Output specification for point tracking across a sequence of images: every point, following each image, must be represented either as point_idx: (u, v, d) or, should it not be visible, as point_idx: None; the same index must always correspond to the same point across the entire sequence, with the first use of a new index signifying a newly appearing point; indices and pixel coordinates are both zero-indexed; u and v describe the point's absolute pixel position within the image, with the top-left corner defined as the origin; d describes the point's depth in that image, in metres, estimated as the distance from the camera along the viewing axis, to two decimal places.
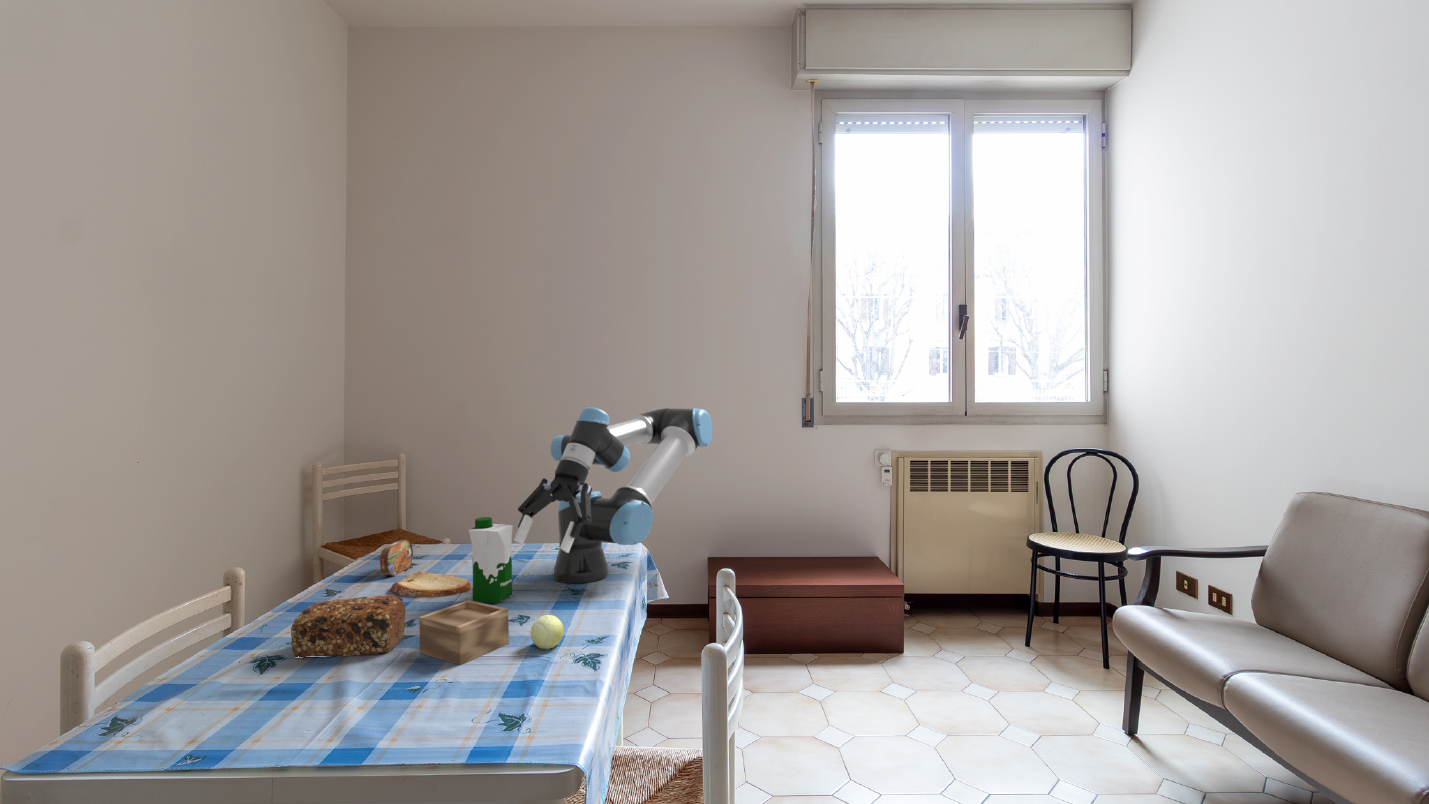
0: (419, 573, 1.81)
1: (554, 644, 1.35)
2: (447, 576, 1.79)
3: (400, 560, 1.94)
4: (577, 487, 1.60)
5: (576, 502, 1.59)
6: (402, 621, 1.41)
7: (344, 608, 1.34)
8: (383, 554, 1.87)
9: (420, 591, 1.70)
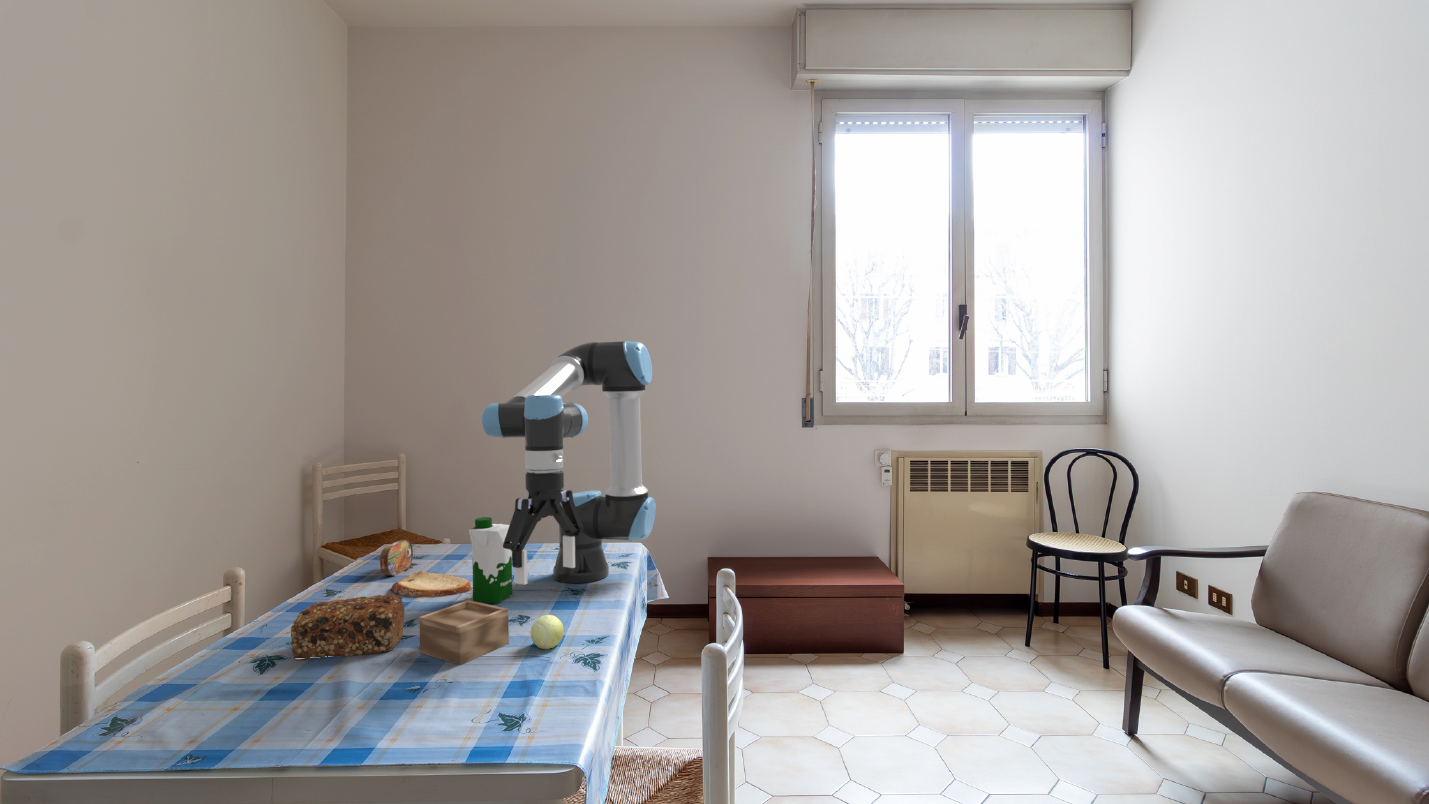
0: (420, 573, 1.81)
1: (554, 644, 1.35)
2: (447, 576, 1.79)
3: (400, 560, 1.94)
4: None
5: None
6: (402, 620, 1.42)
7: (345, 608, 1.34)
8: (383, 554, 1.87)
9: (420, 591, 1.70)
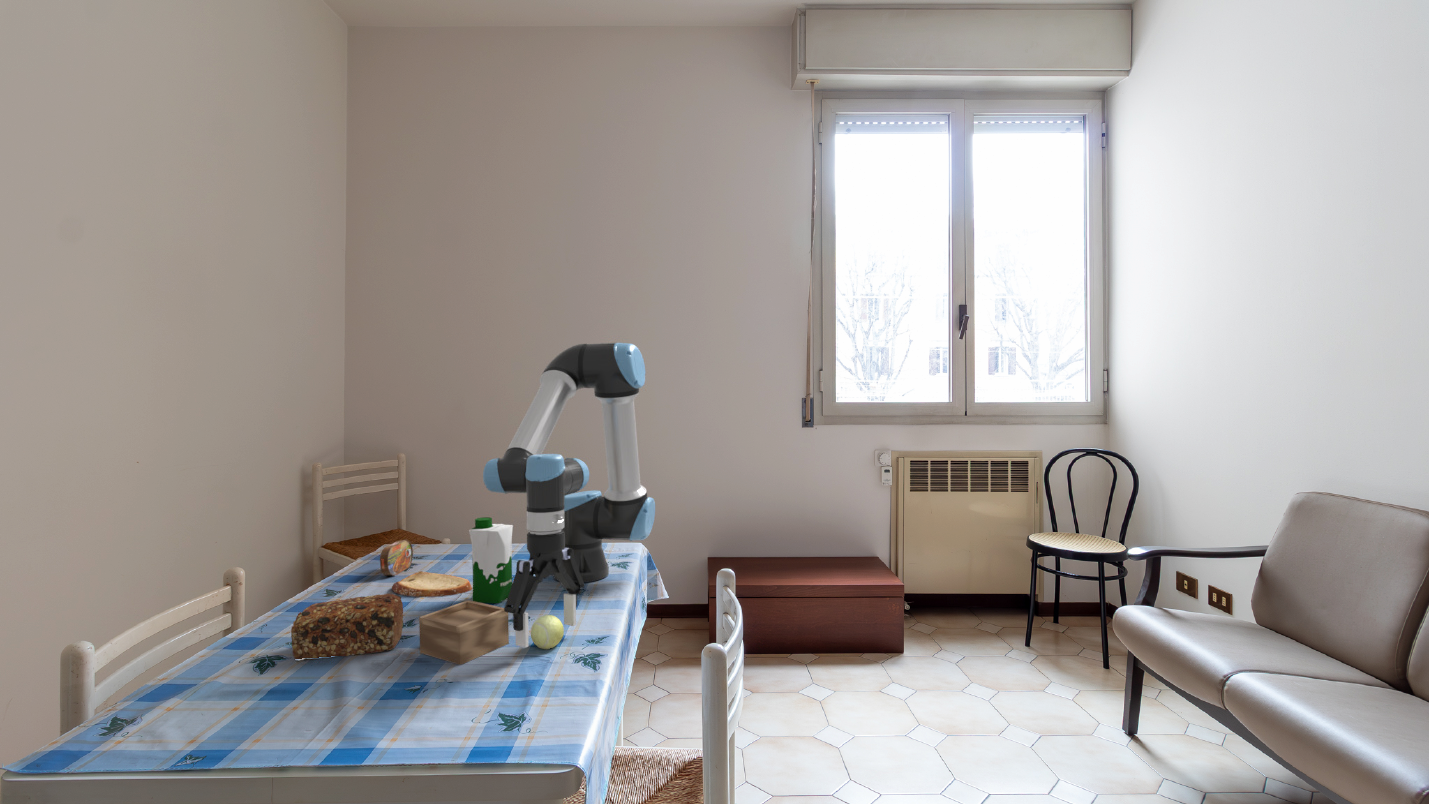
0: (420, 573, 1.82)
1: (554, 644, 1.35)
2: (448, 576, 1.79)
3: (400, 560, 1.94)
4: None
5: None
6: (401, 619, 1.43)
7: (346, 608, 1.34)
8: (383, 554, 1.87)
9: (420, 591, 1.70)
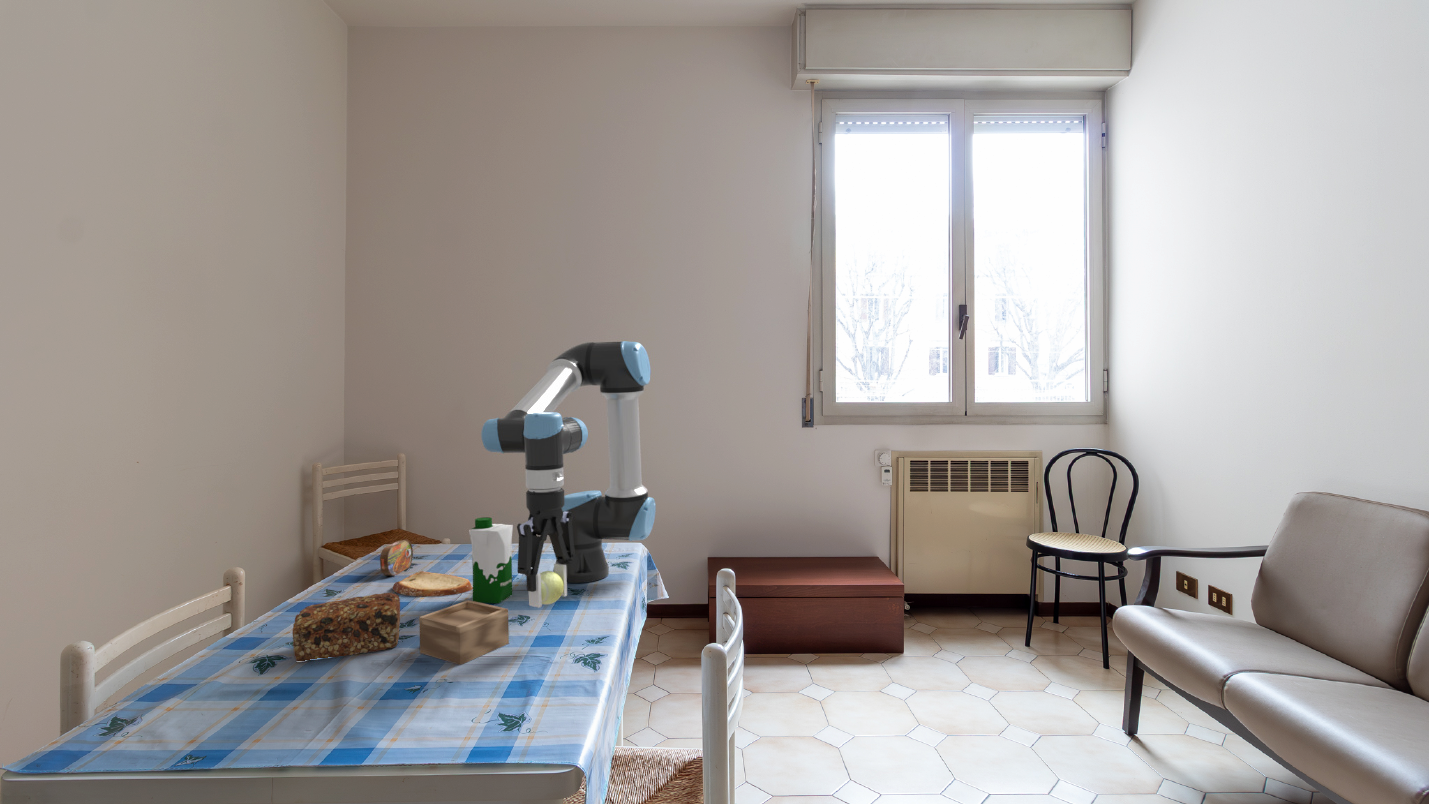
0: (421, 572, 1.82)
1: (554, 599, 1.36)
2: (448, 576, 1.80)
3: (400, 560, 1.94)
4: None
5: None
6: (399, 617, 1.44)
7: (348, 608, 1.34)
8: (383, 554, 1.87)
9: (421, 590, 1.70)
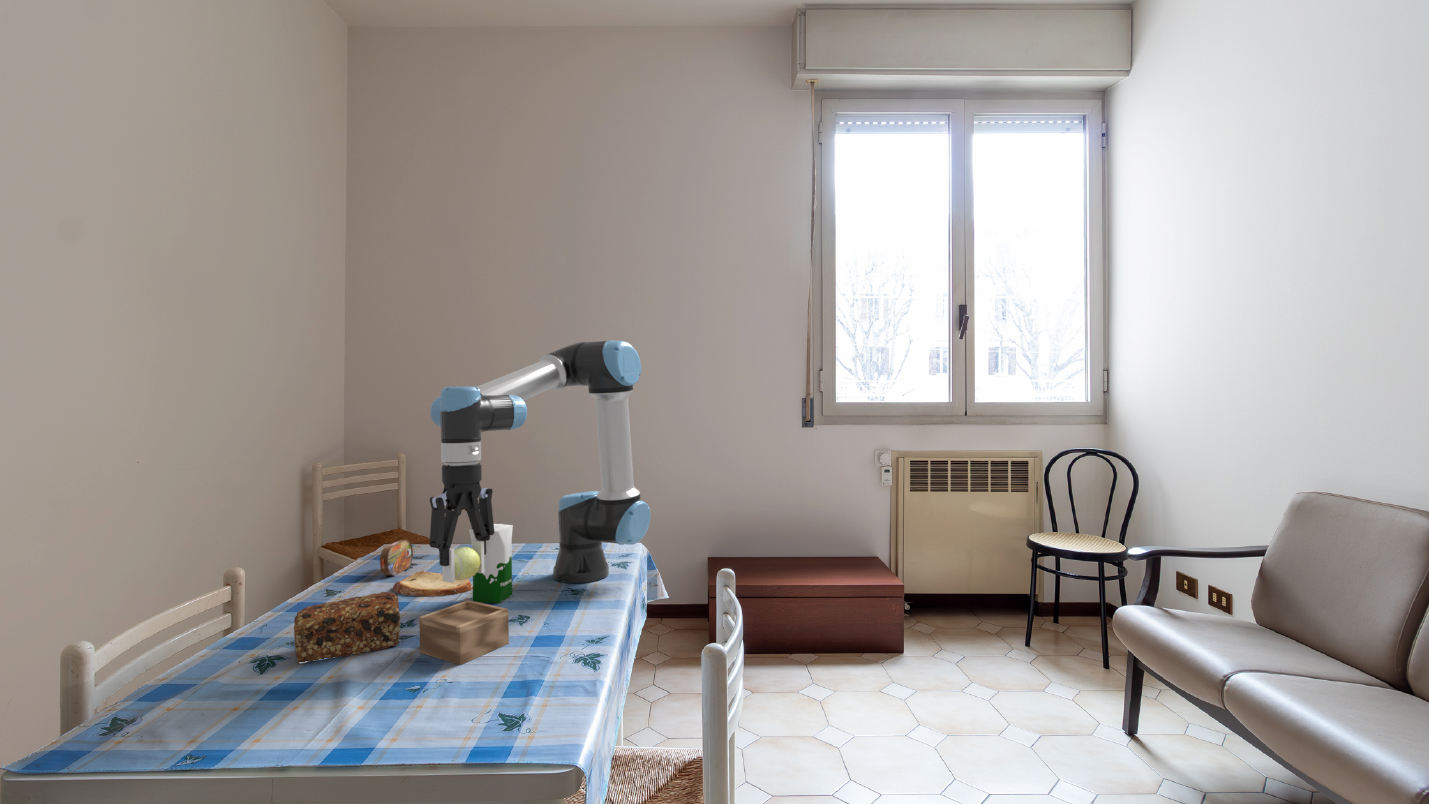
0: (421, 572, 1.82)
1: (468, 575, 1.34)
2: None
3: (400, 560, 1.94)
4: (480, 491, 1.38)
5: None
6: None
7: (350, 607, 1.34)
8: (383, 554, 1.87)
9: (421, 590, 1.71)
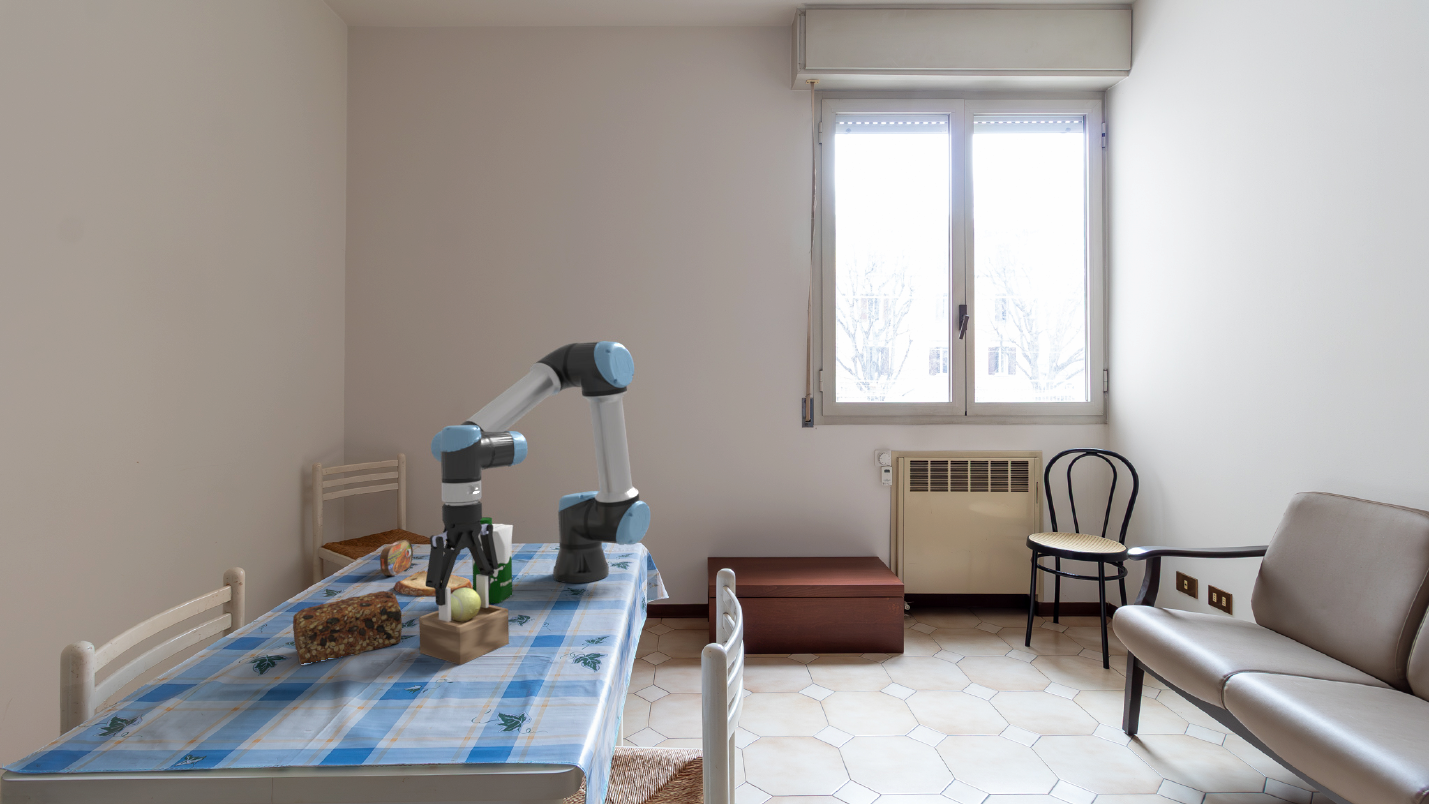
0: (423, 572, 1.82)
1: (469, 616, 1.34)
2: None
3: (400, 560, 1.94)
4: (481, 529, 1.39)
5: None
6: None
7: (352, 607, 1.35)
8: (383, 554, 1.87)
9: (421, 590, 1.71)
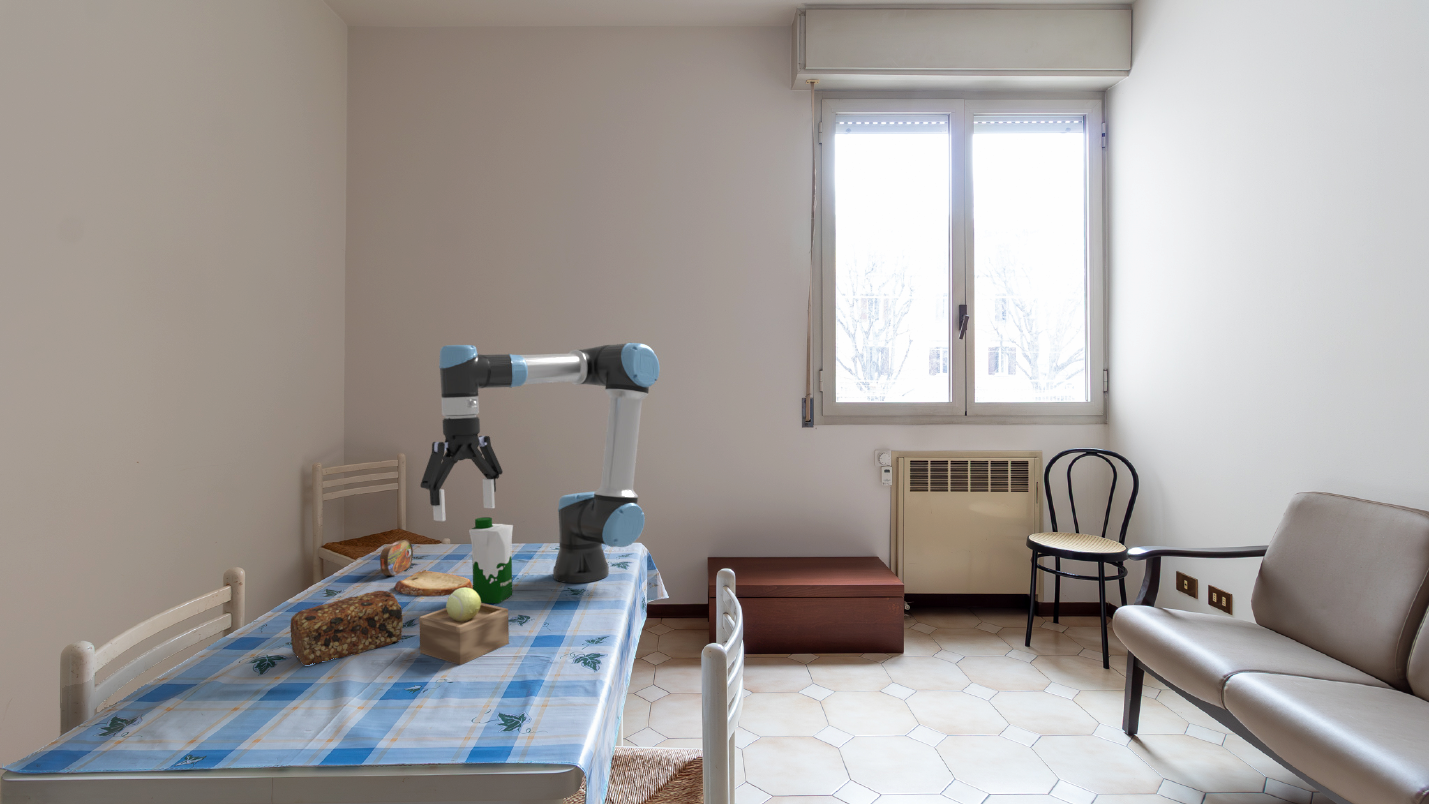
0: (423, 571, 1.83)
1: (469, 616, 1.34)
2: (450, 575, 1.80)
3: (400, 560, 1.94)
4: None
5: None
6: None
7: (353, 606, 1.35)
8: (383, 554, 1.87)
9: (421, 590, 1.71)
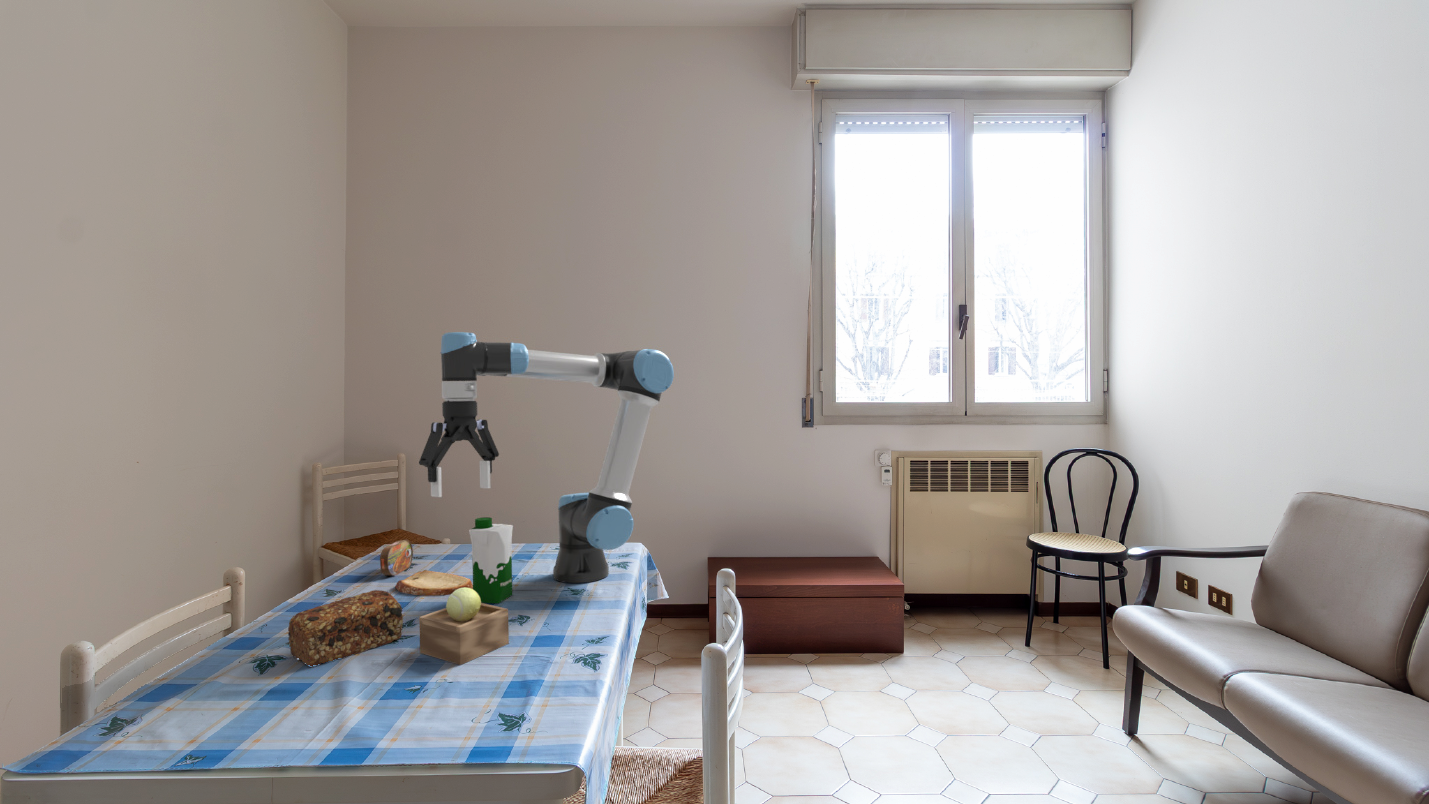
0: (424, 571, 1.83)
1: (469, 616, 1.34)
2: (450, 575, 1.80)
3: (400, 560, 1.94)
4: (477, 425, 1.57)
5: None
6: None
7: (355, 606, 1.35)
8: (383, 554, 1.87)
9: (422, 589, 1.71)
